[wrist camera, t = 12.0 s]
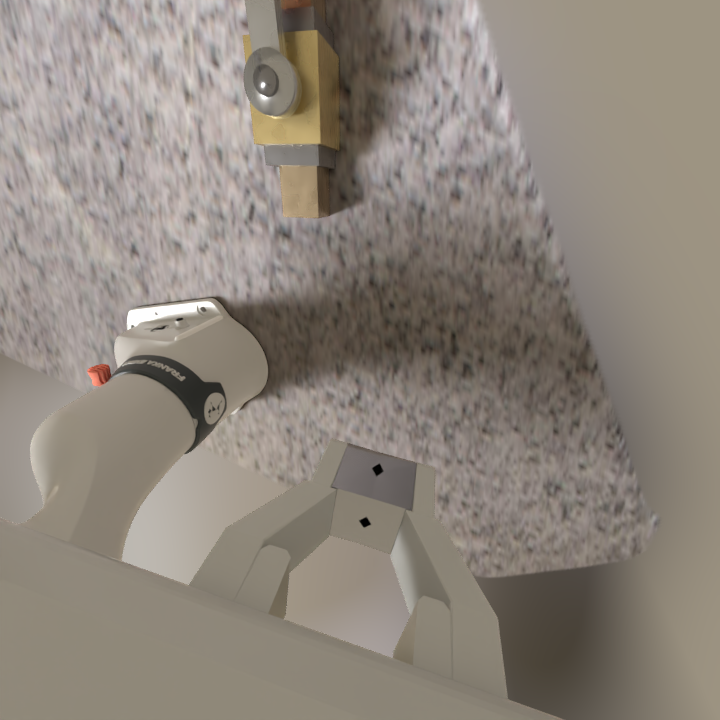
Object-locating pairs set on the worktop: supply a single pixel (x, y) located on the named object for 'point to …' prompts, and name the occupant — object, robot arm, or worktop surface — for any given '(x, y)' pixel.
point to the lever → (270, 62)
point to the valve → (304, 113)
